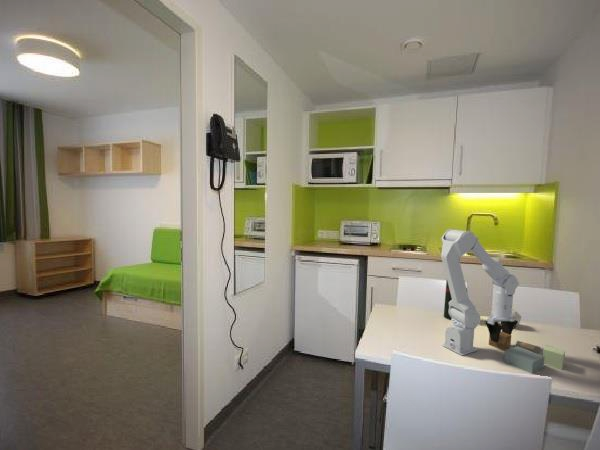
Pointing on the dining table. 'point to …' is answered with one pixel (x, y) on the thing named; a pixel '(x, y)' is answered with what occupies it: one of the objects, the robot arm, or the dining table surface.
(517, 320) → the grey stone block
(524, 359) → the slate plinth
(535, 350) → the card
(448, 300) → the wine bottle
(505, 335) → the walnut cube
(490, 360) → the dining table surface
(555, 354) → the sage cube
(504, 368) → the dining table surface
